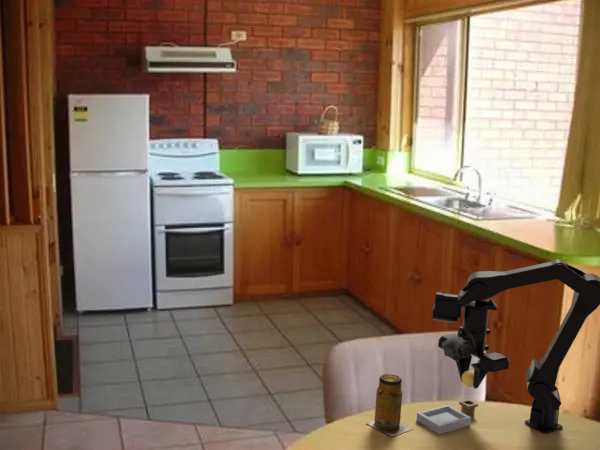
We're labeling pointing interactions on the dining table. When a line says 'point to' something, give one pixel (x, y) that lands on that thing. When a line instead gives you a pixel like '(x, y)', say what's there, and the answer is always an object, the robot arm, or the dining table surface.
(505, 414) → the dining table surface
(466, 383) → the ball
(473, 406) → the egg cup
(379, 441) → the dining table surface
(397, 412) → the condiment
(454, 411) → the tray
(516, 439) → the dining table surface
